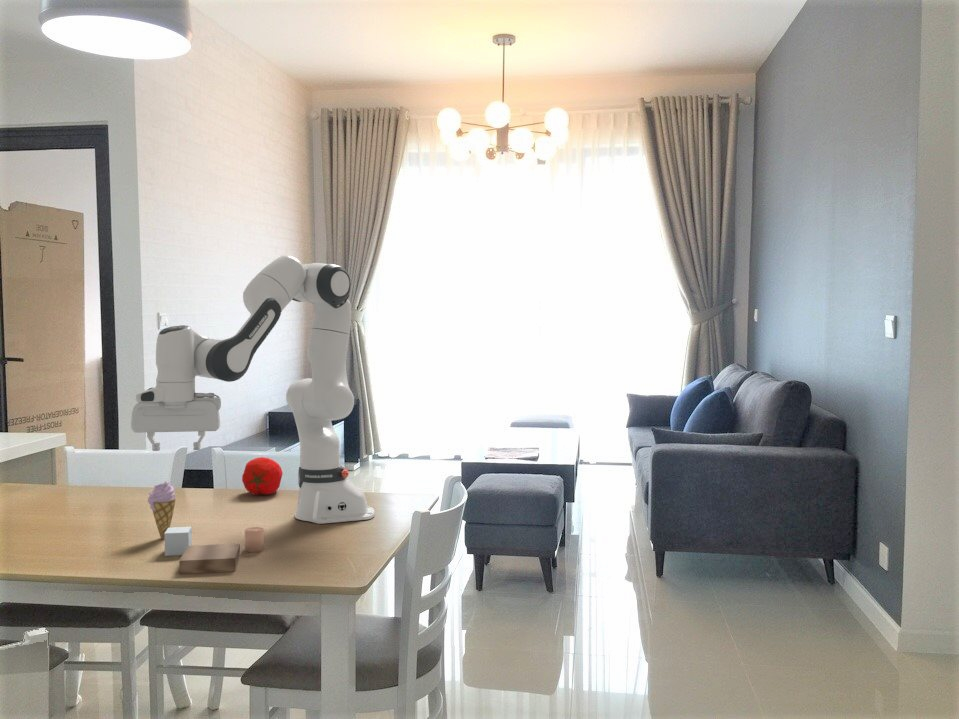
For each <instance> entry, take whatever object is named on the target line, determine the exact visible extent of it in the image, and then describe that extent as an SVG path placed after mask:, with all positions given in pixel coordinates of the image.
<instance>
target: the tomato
mask: <svg viewBox="0 0 959 719" xmlns="http://www.w3.org/2000/svg"><path fill="white" fill-rule="evenodd" d="M282 477H283V470H282V467H281V466H280V464H279V463H278V462H276V461H275V460H274V459H271V458H269V457H265V456H264V457H263V456H262V457H256V458H253V459H251V460H249V461H248V462H247V463H246V464H245V467H244V470H243V474H242V475H241V481H242V483H243V486H244V489H245V490H246V491H247V492H249V493H250V494H252V495H255V496H256V495H266V496H269V495H272V494H274V493H276V492H277V491H278V489H279V488H280V486H281V481H282Z"/></svg>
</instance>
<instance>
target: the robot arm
mask: <svg viewBox="0 0 959 719" xmlns="http://www.w3.org/2000/svg"><path fill="white" fill-rule="evenodd" d="M351 287H352V286H351V278H350V274H349V272H348V271H347V270H346V268H344V267H343V266H341V265H337V264H334V263H323V262H322V263H321V262H313V263H304V264H302V261H300V260H299V259H298V258H296V257H294V256H293V255H292V256H291V255H288V254H287V255H286V254H285V255H282V256H279V257H277V258H276V259H274V260H273V261H271V262H269V264H267V265H266V266H265V267H263V269H260V271H259V272H258V273H257V274H256V275H255V276H254V277H253V278H252V279H251V280H250V281H249V283H248V284H247V285H246V286H245V289H244V291H243V293H242V300H243V301H242V302H243V304H244V307H245V308H246V310H247V312H248V313H249V314H250V315H249V317H248V318H247V320H245V322H244V323H243V325H242V326H241V327H240V328H239V330H237V332H236V333H235V334H234V335H232V336H231V337H229V338H224V339H214V338H209V337H208V336H204V335H202V334H200V333H199V332H197V331H195V330H194V329H193V328H192V327H191V326H189V325H174V326H169V327H168V326H167V327H165V328H163V329H161V330H160V331H159V333H158V334H157V338H156V345H155V365H156V368H157V377H156V378H155V381H156V382H155V387H149V388H147V389H144V390H142V391H139V392H137V393H136V395H135V401H136V402H137V403H136V404H134V406H133V408H132V412H131V419H130V428H131V431H132V432H134V433H136V434H137V433H146V438H147V439H148V440H149V442H150V444H151V446H152V447H151V449H152V451H153V452H160V451H161V447H160V446H161V442H157V441H156V439H155V438H154V436H156V433H180V432H181V433H184V432H185V433H186V432H187V433H189V432H193V433H195V432H197V435H198V437H199V438H198V440H197V441H193V445H192V446H193V451H201V448H202V447H201V446H202V444H201V443H202V441H203V439H204V438H205V436H206V432H216V431H218V430H219V429H220V427H221V420H220V418H221V416H220V411H219V410H221V408H222V407H221V406H222V401H221V397H220V395H217V394H215V393H213V392H208V393H207V392H206V393H205V392H196V377H201V378H207V379H214V380H215V379H216V380H220V381H222V382H227V383H230V382H236V381H238V380H240V379H242V377H244V375H245V374H246V373H247V372H248V369H249V368H250V365H251V362H252V360H253V358H254V355H255V354H256V352H257V350H259V348H260V346H261V345H262V344H263V342H264V341H265V340H266V338H267V337H268V335H270V333H271V332H272V330H273V329H274V327H276V324H277V323H278V322H279V320H280V317H281V315H282V312H283V310H284V309H285V308H286V307H287V306H288V305H289V304H290V302H291V301H294V302H298V303H300V302H302V303H308V304H312V307H313V310H314V311H313V316H312V317H313V318H312V320H311V321H312V322H311V327H310V332H309V337H308V338H309V339H308V344H307V350H306V357H307V360H308V362H309V364H310V367H311V368H310V369H311V378H310V377H309V378H308V377H306V378H302V379H298V380H296V381H294V382H293V383H291V384H290V385H289V386H288V388H287V391H286V396H285V400H286V403H287V406H289V408H290V410H291V412H292V414H293V418H294V422H295V425H296V429H297V434H298V439H299V462H300V463H299V467H298V471H297V472H298V474H297V477H298V478H297V480H298V481H297V482H298V487H299V492H298V499H297V500H298V501H297V505H296V510H295V513H294V517H295V519H297V520H300V521H304V522H311V523H314V524H317V525H321V524H331V523H333V524H335V523H342V522H343V523H344V522H354V521H355V522H356V521H363V520H370V519H373V518H374V517H375V508H373V507H372V506H370V505H368V503H367V497H366V494H365V493H364V490H362V489H361V488H360V487H358V486H357V485H355V483H353V482H352V481H350V480H349V479H347V478H348V477H349V473H350V472H349V470H347V468H346V467H345V466H342V465H341V464H340V460H341V459H340V456H341V455H340V438H339V436H338V434H337V433H336V431H335V429H334V426H333V423H332V421H338V420H343V419H345V418H347V417H348V416H349V415H350V414H351V413H352V411H353V408H354V406H355V396H354V394H353V392H352V390H351V388H350V384H349V381H348V375H347V374H348V373H347V357H348V356H347V355H348V349H349V348H348V347H349V340H350V334H351V328H352V327H351V326H352V303H351V301H350V300H349V299H348V298H349V297H350V293H351Z"/></svg>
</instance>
